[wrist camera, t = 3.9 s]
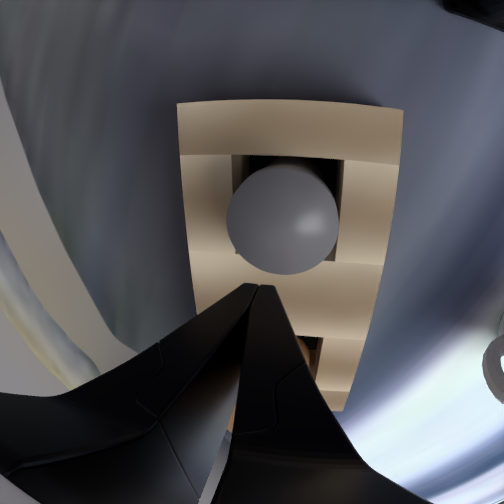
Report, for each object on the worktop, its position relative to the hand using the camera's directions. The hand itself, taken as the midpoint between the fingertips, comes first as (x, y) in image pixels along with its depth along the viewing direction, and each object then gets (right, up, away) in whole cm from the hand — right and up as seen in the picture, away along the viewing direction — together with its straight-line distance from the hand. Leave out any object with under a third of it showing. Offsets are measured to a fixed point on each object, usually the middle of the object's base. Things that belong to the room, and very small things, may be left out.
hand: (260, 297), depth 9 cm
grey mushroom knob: (+2, +5, +9) cm, 11 cm away
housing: (+2, +1, +12) cm, 12 cm away
